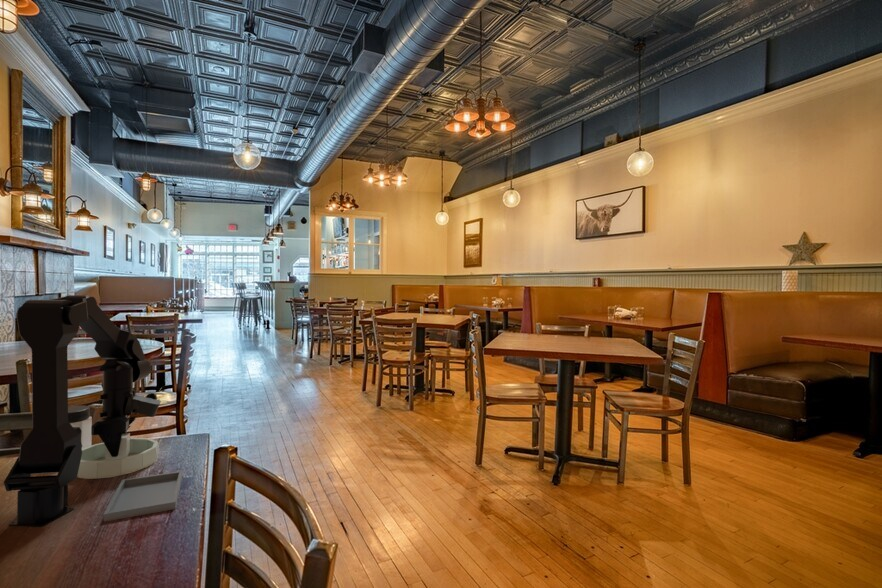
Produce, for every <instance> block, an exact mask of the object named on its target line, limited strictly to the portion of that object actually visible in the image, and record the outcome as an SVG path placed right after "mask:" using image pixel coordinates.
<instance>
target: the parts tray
mask: <svg viewBox="0 0 882 588" xmlns="http://www.w3.org/2000/svg"><path fill="white" fill-rule="evenodd" d="M183 472H184V471H183V470H181V471H174V472H173V471H172V472H167V473H158V474H154V475H153V474H152V475H145V476H140V477H139V476H138V477H132V478H124V479H122V480H121V481H120V484H119V485H118V486H117V489H116V490H115V492H114V494H113V496H112V498H111V499H110V501H109V503H108V505H107V507H106V508H105V511H104V513H103V522H104V523H105V522H110V521H115V520H121V519H126V518H131V517H137V516H143V515H149V514H154V513H159V512H165V511H171V510H176V509H177V503H178V499H179V494H180V491H181V486H182V481H183Z"/></svg>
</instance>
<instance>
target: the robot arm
mask: <svg viewBox="0 0 882 588" xmlns="http://www.w3.org/2000/svg"><path fill="white" fill-rule="evenodd" d="M15 318H16V321H17V327H18V334H19V336H20V337H21V339H22V340H23V342H25V344H27V346H28V347H29V348H30V349H31V398H32V399H31V400H32V401H31V403H32V404H31V410H32V411H31V412H32V416H31V418H32V428H31V430H30V431H29V432H28V434H27V435H26V436H25V438H24V439H23V440H22V441H21V443H20V449H19V455H18V456H17V458H16V460H15V462H14V464H13V465H12V467H11V469H10V470H9V472H8V475H6V478H5V479H4V481H3V485H4V488H5V491H6V492H11V491H17V501H16V502H17V508H16V509H17V510H16V519H14V520H13V521H10V522H9V523H8V526H9V527H10V526H11V527H32V528H34V527H35V528H41V527H45V526H47V525H49V524H50V523H52V522H54V521H55V520H56V521H57V520H58V519H59V518H62V517H63V516H65V515H67V514H69V513H71V512H72V511H74V510H75V507H73V506H72V507H71V506H69V507H68V502H69V501H68V500H69V499H68V497H69V496H68V495H69V486H68V484H70V483H71V482H73V481H75V480H76V479H77V478H78V477H77V475H78V470H79V466H80V461H81V456H82V443H81V433H82V431H81V429H80V427H72V425H71V424H70V423H69V422H68V406H69V400H68V399H69V392H68V391H69V390H68V389H69V388H68V387H69V381H68V379H69V378H68V376H69V375H68V372H69V370H68V368H69V367H68V361H69V360H68V346H69V345H70V344H71V342H72V340H73V339H74V338H75V337H76V336H77V334H78V332H79V327H80V328H81V329H82V330H83V331H84V332H85V333H86V334H87V335H88V336H89V337H90V338H91V340H93V341H94V342H95V345H94V350H95V352H96V353H97V355H98V356H99V358H100V359H102V360H104V361H105V362H104V363H103V364H102V365H101V366H100V367H99V369H98V371H99V372H102V393H101V394H100V395H99V396H100V400H102V408H101V409H102V411H101V412H99V419H98V420H96V421H95V422H94V423H92V426H91V435H92V436H98V437H99V438H100V439H101V441H102V443H104V444H105V446H106V448H107V449H108V451H109V453H110V454H111V456H112V457H116V456H118V453H119V449H120V444H121V440H122V435H123V434H125V433H128V431H129V429H130V427H131V424H133V422H135V420H136V419H137V417H136V416H132V414H133V413H134V415H143V416H144V415H145V416H146V417H150V418H153V417H155V415H156V414H157V411H158V409H159V407H160V404H161V400H160V399H158V396H157V395H158V394H157V393H155V392H151V391H150V392H149V393H147V394H146V395H145V396H144V395H136V394H137V393H136V389H135V388H133V385H134V383H136V382H138V381H140V380H143V379H146V378H147V377H149V376H150V374H151V372H152V365H151V363H150V362H149V360H148V359H146V355H145V353H144V350H143V348H142V345H141V343H140V341H139V339H138V337H137V336H136V335H135V334H134V333H131V332H130V330H129V331H127V330H124V329H122V328H119V327H118V326H117V325H116V324H115V323H114V322H113V321H112V320H111V319H110V318H109V316H108V315H107V314H106V313H105V312H104V311H103V310H102V309H101V307H100V306H99V305H98V303H97V300H96V297H94V296H91V295H87V294H86V295H84V294H82V295H80V294H79V295H75V294H74V295H70V294H69V295H66V296H61V297H58V298H52V299H29V300H26V301H25V302H23V304H22V305H21V306H19V308H18V309H17V311H16V317H15ZM130 416H131V417H130ZM53 473H57V475H38V476H31V475H35V474H36V475H37V474H53Z"/></svg>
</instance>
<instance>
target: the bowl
mask: <svg viewBox="0 0 882 588" xmlns="http://www.w3.org/2000/svg"><path fill="white" fill-rule="evenodd" d="M105 448H106V446H105V444H104V443H103V442H100V443H96V444H91V446H89V447H87V448H84V449H82V456H81V461H80V466H79V470H78V475H77V478H79V479H85V480H90V479H91V480H93V479H97V480H98V479H105V478H106V479H107V478H108V479H109V478H114V477H119V476H124V475H128V474H131V473H134V472H137V471H140V470H143V469H145V468H147V467H150V466H151V465H153V464H156V463H157V461H158V457H159V441H157V440H155V439H152V438H148V437H147V438H145V437H131V438H130V452H129V454H128V455H127V457H124V458H118V459H110V460H105Z"/></svg>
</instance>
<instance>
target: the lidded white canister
mask: <svg viewBox="0 0 882 588" xmlns="http://www.w3.org/2000/svg"><path fill="white" fill-rule="evenodd" d="M90 412H91V407H90V406H89V405H70V406H69V405H68V422H69V423H70V424H71V425H72V427H80V429H81V431H82V433H81V443H82V449H84V448H87V447H89V446H92V444H93V443H92V442H93V441H92V438H93V437H92V436H93V435H91V426H92V425H93V417H92V416H90V415H91V413H90Z"/></svg>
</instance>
